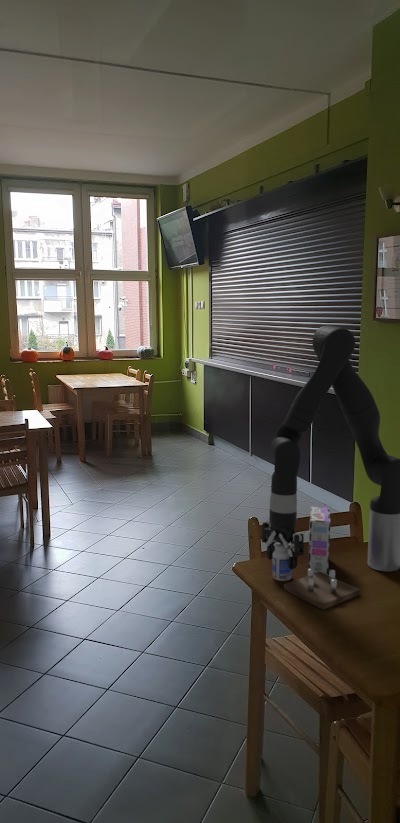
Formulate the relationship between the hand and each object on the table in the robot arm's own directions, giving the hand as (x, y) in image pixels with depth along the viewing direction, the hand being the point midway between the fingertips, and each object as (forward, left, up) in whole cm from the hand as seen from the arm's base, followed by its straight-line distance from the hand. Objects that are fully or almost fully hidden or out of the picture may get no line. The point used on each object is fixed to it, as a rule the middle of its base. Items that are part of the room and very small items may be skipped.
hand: (281, 563), depth 169 cm
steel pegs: (-2, +13, -3) cm, 13 cm away
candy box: (-14, +1, -5) cm, 15 cm away
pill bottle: (0, 0, -5) cm, 5 cm away
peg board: (-2, +13, -4) cm, 14 cm away
